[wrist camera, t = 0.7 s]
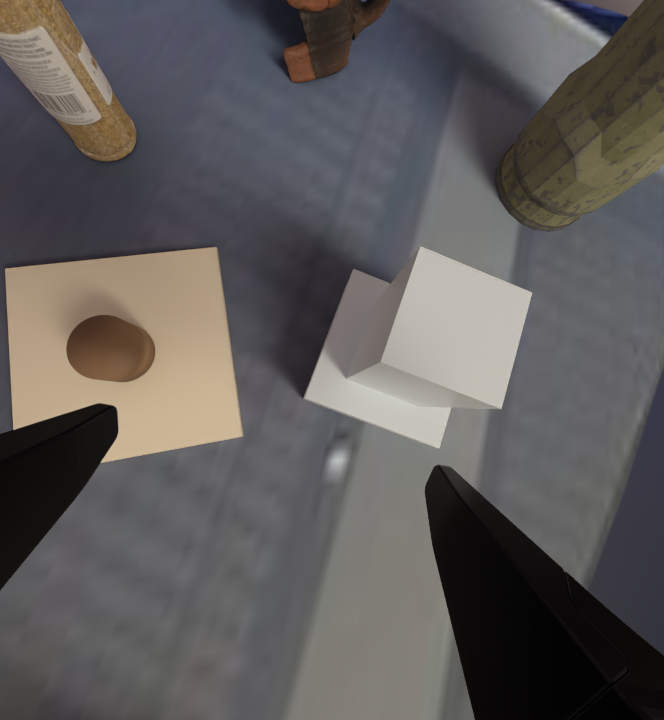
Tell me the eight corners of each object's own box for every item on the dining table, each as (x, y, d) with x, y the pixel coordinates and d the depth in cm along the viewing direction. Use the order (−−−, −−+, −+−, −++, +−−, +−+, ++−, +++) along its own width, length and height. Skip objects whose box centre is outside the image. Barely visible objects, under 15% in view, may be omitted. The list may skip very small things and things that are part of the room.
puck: (128, 394, 21) (106, 392, 19) (79, 359, 21) (51, 353, 19) (167, 347, 22) (151, 340, 19) (120, 313, 22) (98, 302, 19)
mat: (243, 435, 22) (242, 436, 22) (22, 476, 20) (15, 478, 20) (218, 250, 24) (216, 246, 23) (11, 271, 22) (5, 268, 21)
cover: (415, 441, 24) (535, 478, 12) (302, 398, 23) (310, 393, 11) (448, 332, 25) (585, 268, 13) (344, 290, 25) (389, 185, 13)
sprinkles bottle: (148, 125, 25) (-23, -201, 11) (123, 173, 24) (-91, -115, 11) (90, 102, 24) (-155, -259, 11) (63, 151, 23) (-235, -175, 10)
